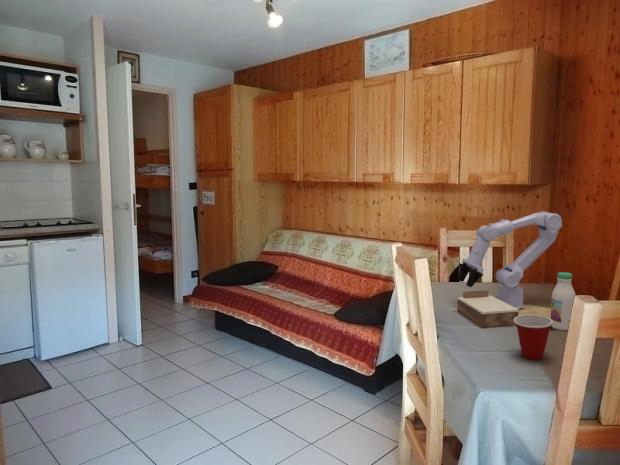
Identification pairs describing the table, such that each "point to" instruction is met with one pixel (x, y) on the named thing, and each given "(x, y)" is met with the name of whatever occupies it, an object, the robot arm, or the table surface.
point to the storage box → (487, 317)
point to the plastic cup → (533, 335)
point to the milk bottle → (562, 301)
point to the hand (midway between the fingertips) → (464, 283)
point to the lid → (485, 302)
